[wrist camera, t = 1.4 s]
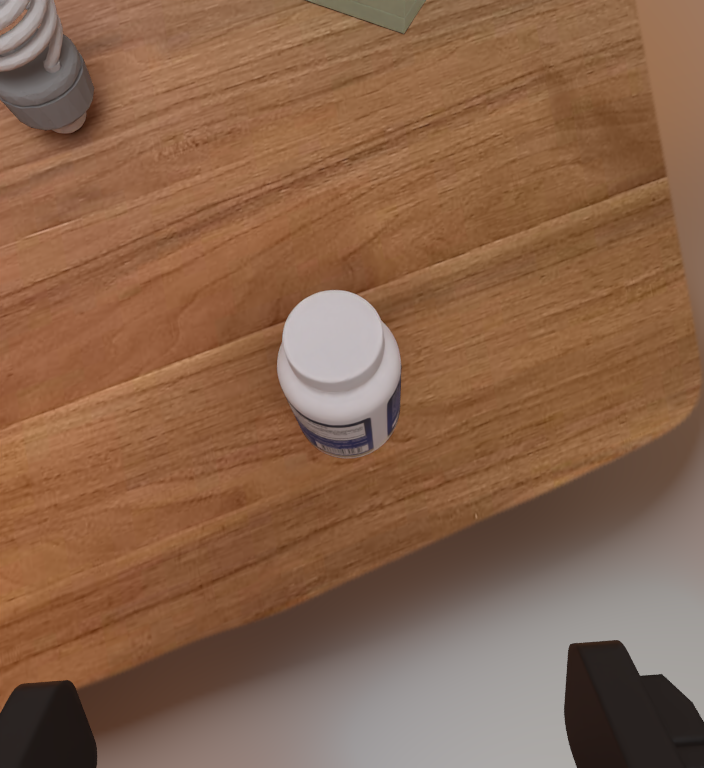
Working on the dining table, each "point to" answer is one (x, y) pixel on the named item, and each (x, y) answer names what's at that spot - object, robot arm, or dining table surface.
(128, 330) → the dining table surface
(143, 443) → the dining table surface
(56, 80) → the light bulb
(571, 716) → the robot arm
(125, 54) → the dining table surface
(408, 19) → the shelf
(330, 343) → the pill bottle
